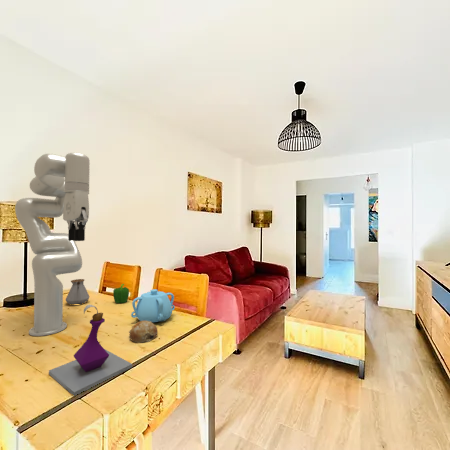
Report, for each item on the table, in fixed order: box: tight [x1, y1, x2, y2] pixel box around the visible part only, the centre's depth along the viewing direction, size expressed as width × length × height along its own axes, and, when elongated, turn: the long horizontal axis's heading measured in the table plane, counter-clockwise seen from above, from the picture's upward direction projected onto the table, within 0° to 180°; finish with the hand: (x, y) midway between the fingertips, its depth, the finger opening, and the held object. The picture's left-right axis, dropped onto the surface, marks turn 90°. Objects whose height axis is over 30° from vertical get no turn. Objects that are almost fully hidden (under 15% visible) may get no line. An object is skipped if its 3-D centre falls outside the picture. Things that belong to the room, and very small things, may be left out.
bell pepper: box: [112, 283, 130, 304], centre depth 140 cm, size 8×8×10 cm
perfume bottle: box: [73, 304, 109, 372], centre depth 72 cm, size 8×8×18 cm
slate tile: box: [48, 348, 133, 397], centre depth 72 cm, size 16×16×1 cm
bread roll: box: [128, 320, 158, 344], centre depth 94 cm, size 10×10×8 cm
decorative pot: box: [130, 288, 176, 323], centre depth 113 cm, size 16×16×14 cm
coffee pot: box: [65, 278, 90, 305], centre depth 134 cm, size 21×12×15 cm, turn 31°
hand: (76, 240), depth 88 cm, fingers open, 3 cm apart
